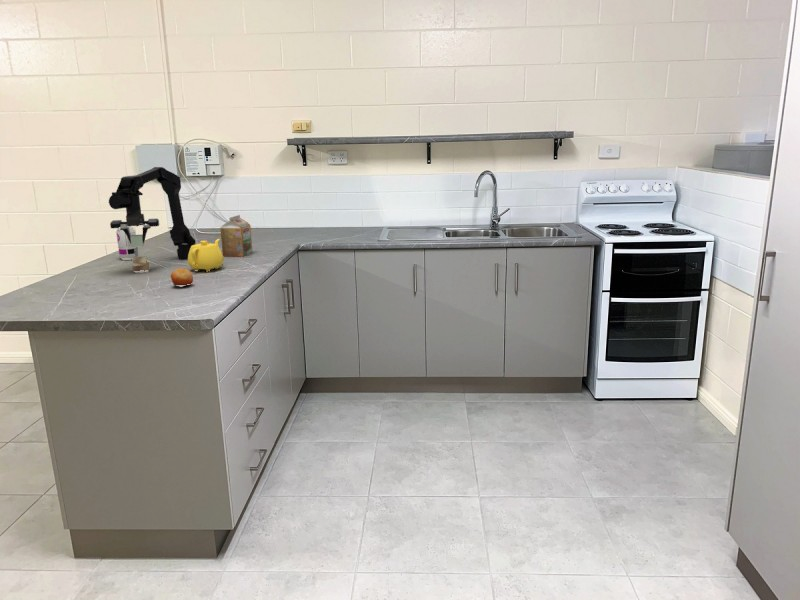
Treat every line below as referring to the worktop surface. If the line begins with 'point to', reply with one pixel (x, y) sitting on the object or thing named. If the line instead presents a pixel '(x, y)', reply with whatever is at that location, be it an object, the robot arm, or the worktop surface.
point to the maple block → (140, 261)
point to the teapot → (205, 256)
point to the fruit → (181, 277)
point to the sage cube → (137, 240)
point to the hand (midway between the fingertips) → (137, 243)
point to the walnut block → (141, 267)
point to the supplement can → (126, 244)
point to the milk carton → (236, 238)
